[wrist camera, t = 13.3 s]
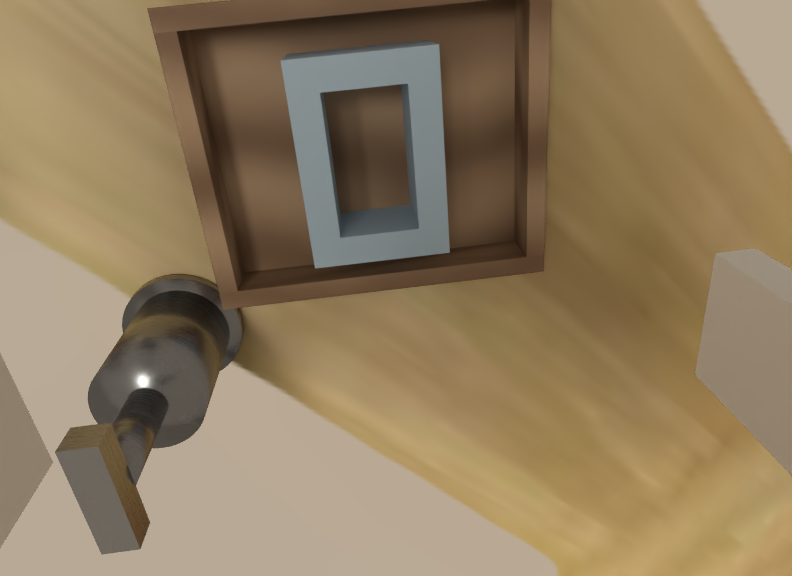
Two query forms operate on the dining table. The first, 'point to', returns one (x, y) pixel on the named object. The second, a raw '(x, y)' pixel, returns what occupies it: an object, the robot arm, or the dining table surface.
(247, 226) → the tray
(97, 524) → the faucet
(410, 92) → the grey-blue frame
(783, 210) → the dining table surface
